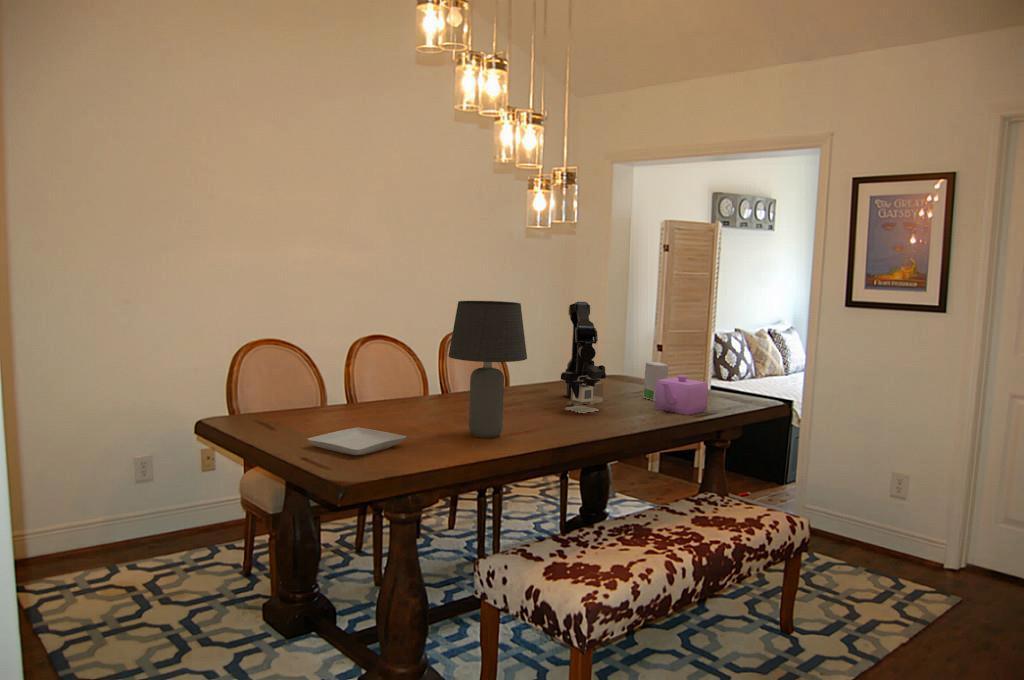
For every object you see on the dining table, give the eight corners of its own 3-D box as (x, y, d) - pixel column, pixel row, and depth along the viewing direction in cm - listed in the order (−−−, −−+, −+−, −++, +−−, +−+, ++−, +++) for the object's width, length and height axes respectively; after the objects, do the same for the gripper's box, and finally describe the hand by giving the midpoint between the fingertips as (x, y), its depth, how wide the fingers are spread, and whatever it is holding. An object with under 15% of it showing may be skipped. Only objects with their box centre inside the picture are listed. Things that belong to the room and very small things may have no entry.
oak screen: (567, 404, 304) (568, 384, 303) (596, 401, 314) (597, 382, 313) (575, 406, 300) (576, 386, 299) (605, 403, 310) (606, 384, 309)
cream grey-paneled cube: (572, 399, 293) (573, 385, 292) (583, 398, 296) (583, 384, 296) (582, 402, 288) (583, 387, 288) (593, 401, 292) (593, 386, 291)
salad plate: (304, 448, 222) (305, 437, 222) (357, 436, 240) (357, 425, 239) (357, 461, 210) (357, 449, 210) (408, 447, 228) (408, 435, 228)
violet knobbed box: (643, 411, 296) (645, 375, 295) (681, 404, 313) (682, 370, 312) (676, 417, 285) (678, 380, 284) (713, 410, 302) (715, 375, 301)
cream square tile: (565, 409, 294) (565, 407, 294) (582, 407, 299) (583, 405, 299) (581, 413, 286) (581, 411, 286) (598, 411, 292) (598, 409, 292)
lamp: (430, 434, 244) (433, 300, 240) (485, 423, 263) (488, 299, 259) (485, 448, 228) (490, 305, 223) (540, 436, 246) (545, 304, 242)
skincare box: (642, 398, 325) (644, 362, 324) (655, 397, 328) (657, 361, 326) (654, 401, 318) (656, 364, 316) (667, 400, 320) (669, 364, 319)
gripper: (580, 361, 279) (578, 403, 280) (616, 358, 290) (614, 399, 291) (560, 357, 288) (558, 398, 289) (596, 355, 299) (595, 394, 300)
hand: (582, 397), depth 292 cm, fingers closed on cream grey-paneled cube, 5 cm apart
